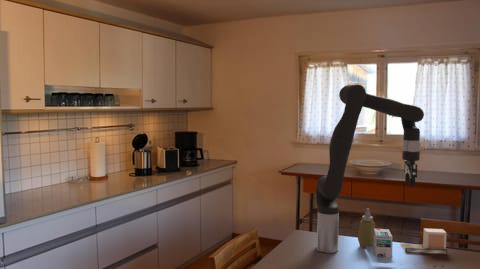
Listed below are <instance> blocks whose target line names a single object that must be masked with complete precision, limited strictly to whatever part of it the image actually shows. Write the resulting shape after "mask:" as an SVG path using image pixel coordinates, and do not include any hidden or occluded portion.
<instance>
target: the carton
mask: <svg viewBox="0 0 480 269" xmlns="http://www.w3.org/2000/svg"><path fill="white" fill-rule="evenodd" d="M422 234H423V236H422V237H423V241H422V243H423V248H432V249H447V232H446V231H445V230H444V229H443V228H425V227H424V228H423V233H422Z"/></svg>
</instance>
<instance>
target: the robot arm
mask: <svg viewBox="0 0 480 269" xmlns="http://www.w3.org/2000/svg"><path fill="white" fill-rule="evenodd" d="M338 97H339V100H340V102H342V103H343V104H345V105H344V110H343V113H342V115H341V118H340V119H339V121H338V122H337V124H336V126H335V127H334V130H333V131H332V134H331V138H330V142H329V148H328V150H329V151H328V152H329V167H328V171H327V175H323V176H321V177H318V180H317V182H316V184H315V201H316V203H315V204H316V206H317V227H316V251H317V252H321V253H326V254H332V253H333V254H334V253H337V252H338V251H339V219H340V218H339V217H340V216H339V214H340V210H339V209H340V208H339V205H338V203H337V202H338V201H337V198H338V197H339V196H340V195H341V193H342V191H343V185H344V177H345V172H346V168H347V163H348V160H349V155H350V152H351V150H352V149H351V148H352V144H353V142H354V137H355V132H356V129H357V125H358V120H359V117H360V114H361V113H362V110H363V108H367V109H369V110H370V109H371V110H373V111H376V112H379V113H381V114H386V115H388V116H392V117H395V118H400V120H401V121H400V122H401V125H402V129H403V136H402V137H403V138H402V139H403V140H402V152H401V154H402V156H401V157H402V160H403V161H404V163H403V164H404V167H403V168H404V169H403V173H404V175H405V176H404V177H405V178H404V179H405V181H404V182H405V183H406V184H409V187H416V179H417V178H418V164H416V162H418V161H420V159H421V158H420V157H421V142H420V141H421V140H420V139H421V132H420V131H421V130H420V128H418V127H417V125H416V123H419V122H421V121H422V120H423V119H424V117H425V112H424V110H423V109H422V108H421V107H419V106H417V105H412V104H407V103H403V102H400V101H398V100H394V99H392V98H387V97H383V96H378V95H374V94H371V93H370V94H369V93H367V91H366V88H365V86H363V85H361V84H357V83H356V84H354V83H353V84H347V85H344V86H343V87H341V89H340V90H339V95H338Z"/></svg>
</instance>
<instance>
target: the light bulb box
mask: <svg viewBox="0 0 480 269" xmlns="http://www.w3.org/2000/svg"><path fill="white" fill-rule="evenodd" d="M373 252H374V254H375V257H376V258H387V259H391V258H392V259H393V234H392V233H391V231H390V229H387V228H386V229H385V228H376V227H375V228H374V246H373Z"/></svg>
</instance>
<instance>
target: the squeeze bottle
mask: <svg viewBox="0 0 480 269" xmlns="http://www.w3.org/2000/svg"><path fill="white" fill-rule="evenodd" d="M373 219H374V216H372V215H371V212H370V208H369V207H368V208H367V207H366V209H365V212H364V215H362V216H361V220H360V221H359V226H358V234H357V235H358V236H357V241H358V244H359V247H360V248H361V249H364V250H367V247H368V248H371V247H374V228H375V229H376V223H375V221H374V220H373Z"/></svg>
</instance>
